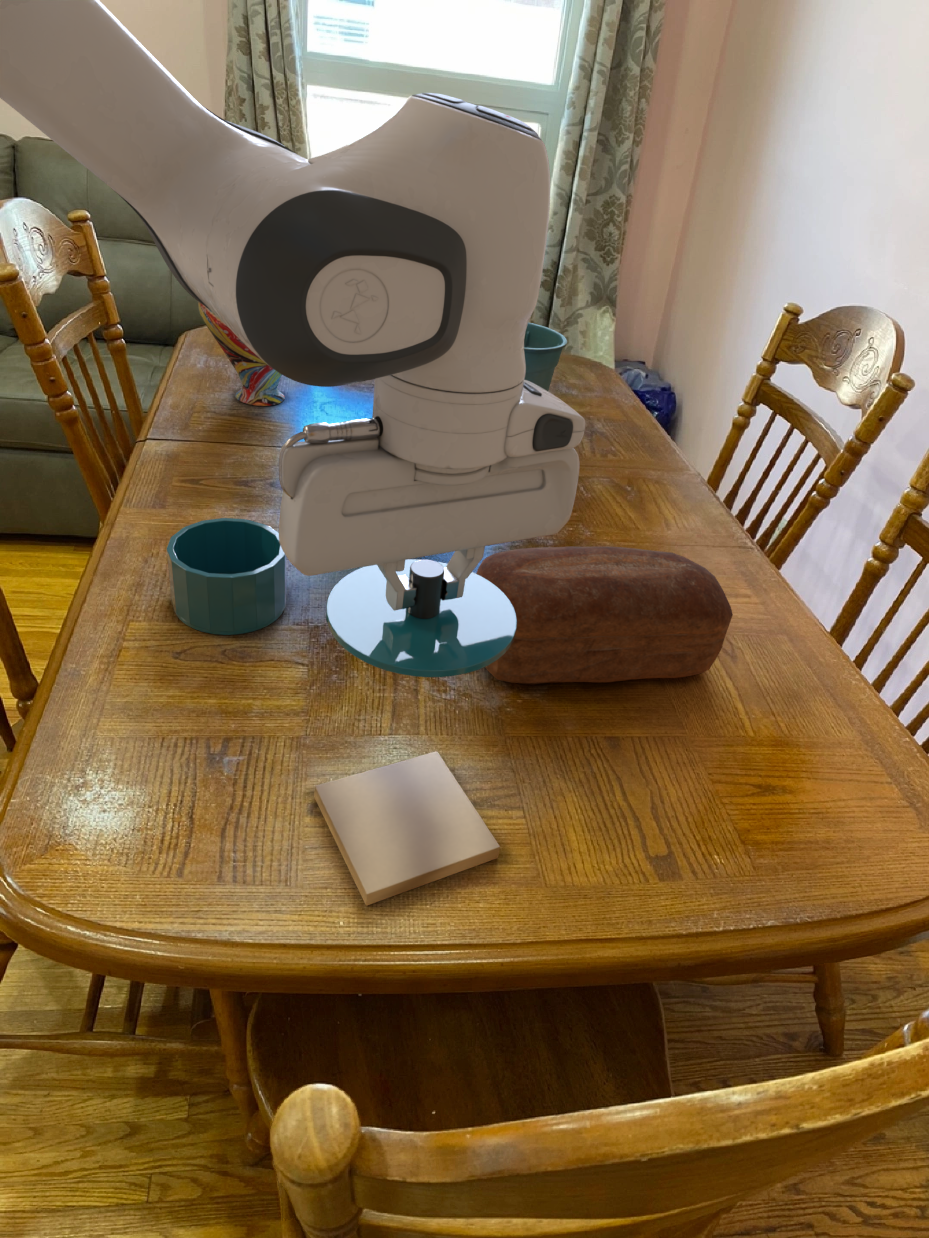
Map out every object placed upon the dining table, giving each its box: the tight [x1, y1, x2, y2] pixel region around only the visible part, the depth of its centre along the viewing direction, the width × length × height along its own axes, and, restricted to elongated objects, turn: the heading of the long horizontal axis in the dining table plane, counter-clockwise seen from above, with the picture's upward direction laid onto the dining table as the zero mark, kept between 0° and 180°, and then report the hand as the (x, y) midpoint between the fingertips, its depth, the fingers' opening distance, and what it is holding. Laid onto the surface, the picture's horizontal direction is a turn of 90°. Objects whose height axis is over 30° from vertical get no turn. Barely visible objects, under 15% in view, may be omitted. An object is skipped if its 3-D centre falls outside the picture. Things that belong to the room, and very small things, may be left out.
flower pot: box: [524, 322, 568, 392], centre depth 143 cm, size 16×16×16 cm
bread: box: [475, 545, 734, 685], centre depth 91 cm, size 14×28×12 cm, turn 102°
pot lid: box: [325, 558, 517, 678], centre depth 58 cm, size 14×14×5 cm
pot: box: [166, 517, 288, 636], centre depth 92 cm, size 12×12×8 cm
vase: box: [197, 301, 286, 407], centre depth 135 cm, size 19×19×30 cm
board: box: [313, 750, 501, 906], centre depth 70 cm, size 12×12×2 cm
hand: (424, 599), depth 58 cm, fingers closed on pot lid, 2 cm apart
